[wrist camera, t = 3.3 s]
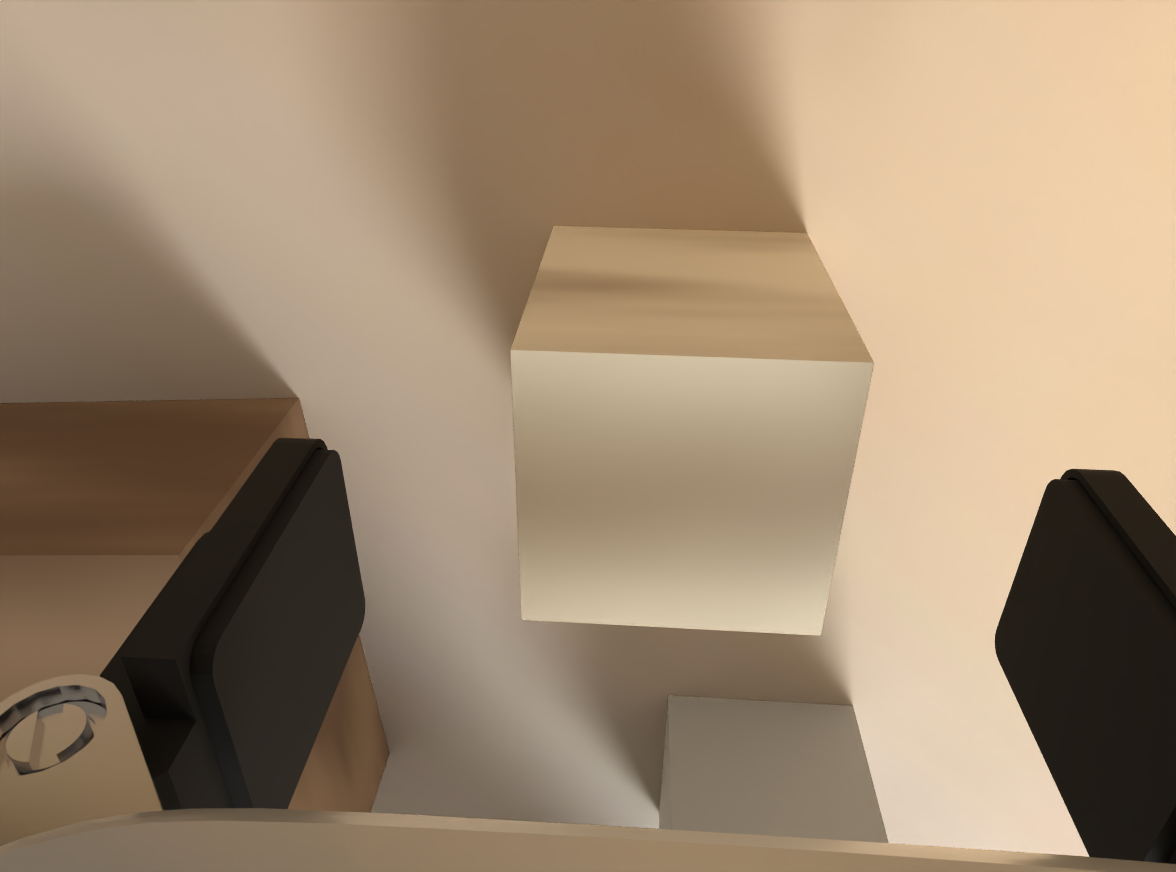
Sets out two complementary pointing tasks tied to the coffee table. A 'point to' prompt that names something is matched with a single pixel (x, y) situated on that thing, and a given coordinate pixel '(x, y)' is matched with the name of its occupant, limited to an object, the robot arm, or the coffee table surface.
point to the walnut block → (144, 548)
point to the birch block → (683, 429)
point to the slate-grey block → (767, 770)
